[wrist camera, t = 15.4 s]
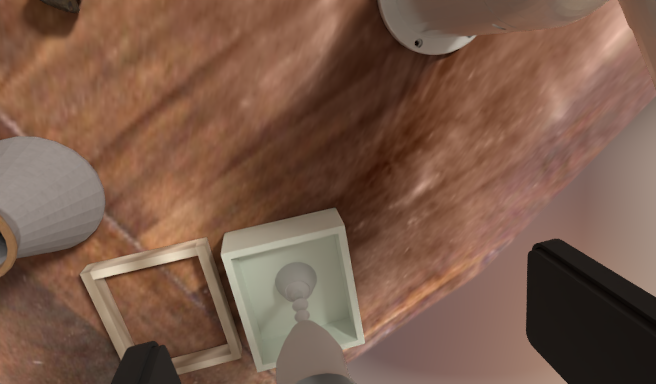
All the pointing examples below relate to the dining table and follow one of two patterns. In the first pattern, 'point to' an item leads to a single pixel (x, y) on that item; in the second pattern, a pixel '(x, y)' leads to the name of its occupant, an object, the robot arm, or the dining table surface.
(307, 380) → the chalice
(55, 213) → the coffee pot
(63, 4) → the hand tool
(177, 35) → the dining table surface
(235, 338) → the ash frame
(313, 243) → the sage bin
